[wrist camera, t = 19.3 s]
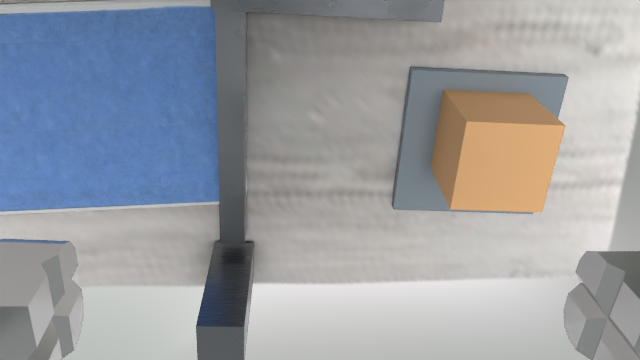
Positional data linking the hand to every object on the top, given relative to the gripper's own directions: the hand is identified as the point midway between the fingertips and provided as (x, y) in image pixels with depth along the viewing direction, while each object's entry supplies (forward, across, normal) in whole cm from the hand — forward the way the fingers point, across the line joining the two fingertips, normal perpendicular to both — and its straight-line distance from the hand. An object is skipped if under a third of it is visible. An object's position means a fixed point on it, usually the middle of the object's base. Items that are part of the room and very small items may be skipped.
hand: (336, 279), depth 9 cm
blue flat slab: (+26, +12, +7) cm, 29 cm away
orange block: (+23, -11, +7) cm, 27 cm away
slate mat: (+24, -12, +8) cm, 28 cm away
